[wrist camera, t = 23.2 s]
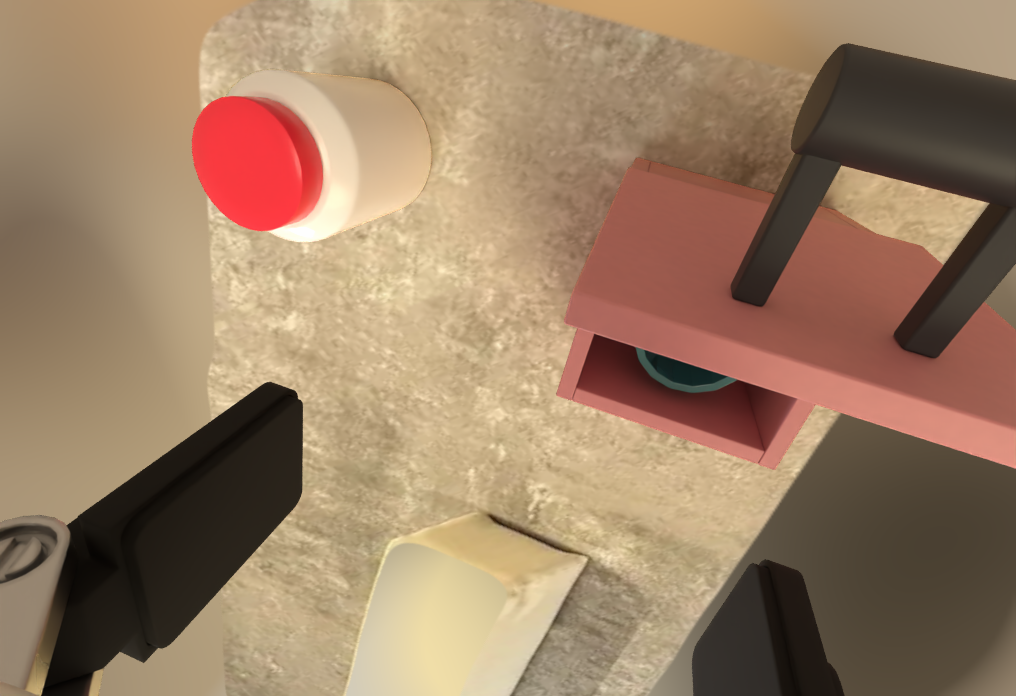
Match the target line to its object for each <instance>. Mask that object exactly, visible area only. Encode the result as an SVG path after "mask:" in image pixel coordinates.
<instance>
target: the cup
mask: <svg viewBox="0 0 1016 696" xmlns="http://www.w3.org/2000/svg"><path fill="white" fill-rule="evenodd" d="M636 352H637V357H638V360H639V362H640V363H641V364H642V366H643V367H644V368H645V370H646V371H647V372H648V374H649V375H650V376H651V377H652V378H654V379H655V380H657V381H658V382H660V383H662V384H663V385H665V386H666V387H668V388H670V389H675V390H679V391H684V392H689V393H699V392H707V391H715V390H718V389H720V388H722V387H724V386H726V385H728V384H730V383H732V382H735V381H737V380H738V379H735V378H731V377H728V376H725V375H722V374H719V373H716V372H713V371H710V370H706V369H703V368H700V367H697V366H694V365H691V364H688V363H685V362H681V361H678V360H675V359H672V358H669V357H666V356H663V355H660V354H656V353H653V352H650V351H647V350H644V349H641V348H638V347H636Z"/></svg>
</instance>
